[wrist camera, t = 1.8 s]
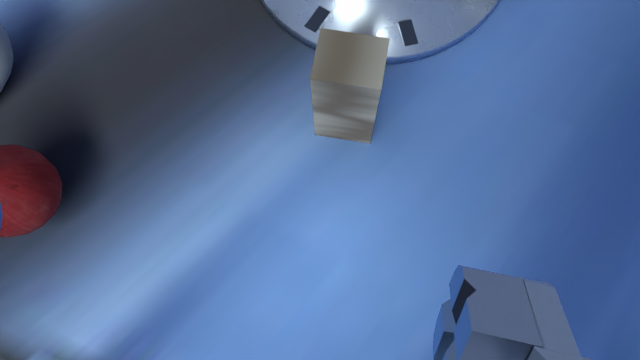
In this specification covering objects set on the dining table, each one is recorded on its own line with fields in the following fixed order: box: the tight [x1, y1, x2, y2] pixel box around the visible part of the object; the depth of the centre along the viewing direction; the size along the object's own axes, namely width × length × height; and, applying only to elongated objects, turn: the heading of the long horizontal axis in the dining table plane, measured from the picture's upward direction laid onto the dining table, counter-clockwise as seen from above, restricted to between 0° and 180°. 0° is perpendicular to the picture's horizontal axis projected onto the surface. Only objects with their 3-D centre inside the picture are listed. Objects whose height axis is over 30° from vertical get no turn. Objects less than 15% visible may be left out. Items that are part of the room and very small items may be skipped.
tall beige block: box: [310, 28, 390, 144], centre depth 34 cm, size 4×3×9 cm
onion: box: [0, 145, 62, 237], centre depth 33 cm, size 6×6×8 cm
